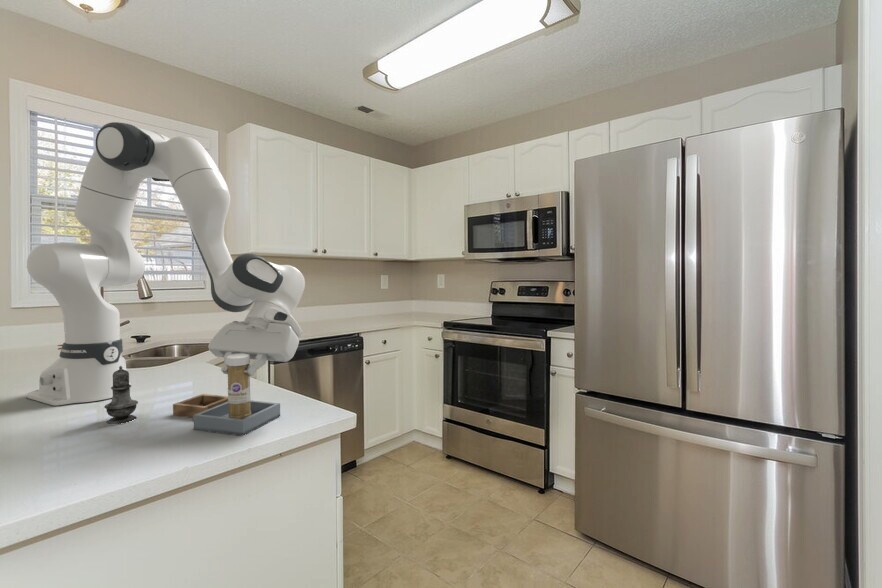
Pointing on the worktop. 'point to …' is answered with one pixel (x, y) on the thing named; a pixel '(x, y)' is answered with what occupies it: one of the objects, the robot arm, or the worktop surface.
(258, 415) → the slate tray
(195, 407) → the walnut collar
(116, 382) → the salt shaker
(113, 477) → the worktop surface
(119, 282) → the robot arm
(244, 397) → the sprinkles bottle
